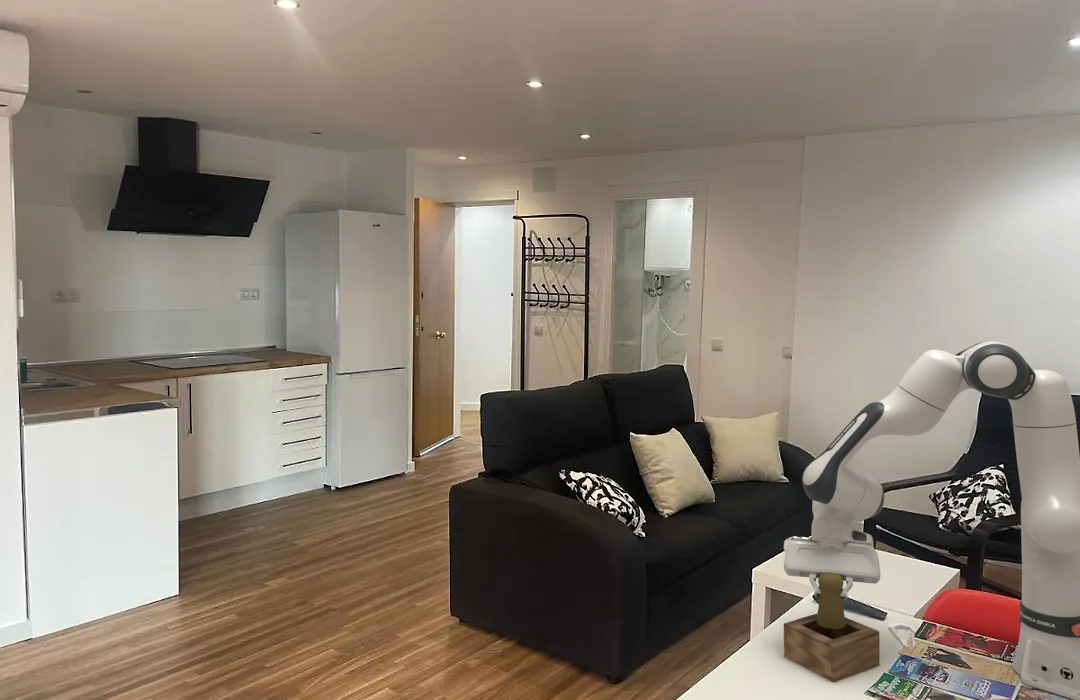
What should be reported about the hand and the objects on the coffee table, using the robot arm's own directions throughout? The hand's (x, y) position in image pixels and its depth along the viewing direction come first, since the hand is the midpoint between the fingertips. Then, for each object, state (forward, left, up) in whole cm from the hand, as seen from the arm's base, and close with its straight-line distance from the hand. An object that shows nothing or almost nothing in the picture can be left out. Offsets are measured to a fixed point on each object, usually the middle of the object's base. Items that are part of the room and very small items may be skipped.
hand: (830, 596), depth 174 cm
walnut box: (+1, 0, -15) cm, 15 cm away
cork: (0, 0, -6) cm, 6 cm away
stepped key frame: (0, -25, -16) cm, 29 cm away
